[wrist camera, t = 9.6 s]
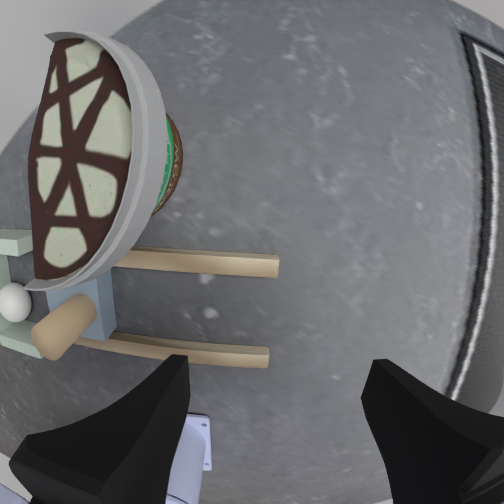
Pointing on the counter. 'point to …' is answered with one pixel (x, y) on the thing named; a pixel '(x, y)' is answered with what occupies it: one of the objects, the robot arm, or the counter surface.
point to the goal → (14, 245)
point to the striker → (76, 316)
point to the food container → (96, 159)
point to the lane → (197, 264)
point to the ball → (14, 302)
